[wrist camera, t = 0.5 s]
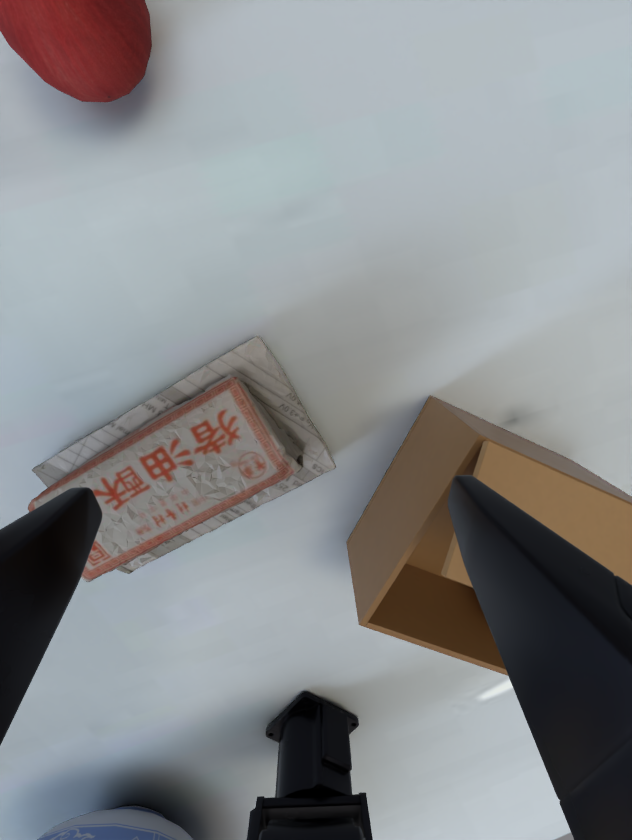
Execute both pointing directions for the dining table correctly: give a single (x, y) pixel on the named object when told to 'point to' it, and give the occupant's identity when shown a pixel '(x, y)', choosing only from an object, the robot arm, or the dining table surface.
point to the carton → (433, 535)
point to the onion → (81, 43)
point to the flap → (555, 510)
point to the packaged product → (190, 459)
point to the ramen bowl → (118, 826)
